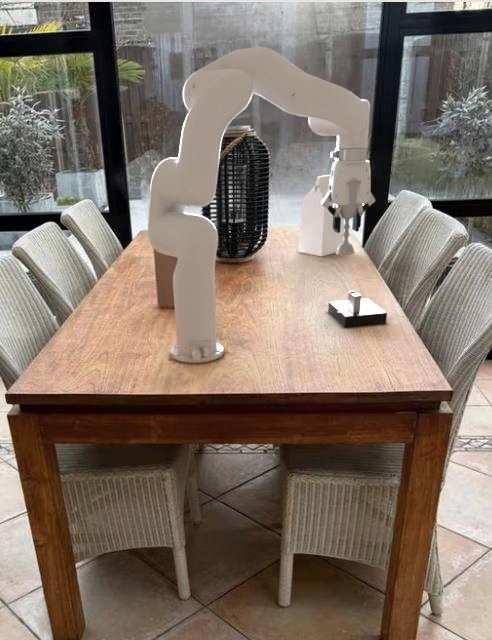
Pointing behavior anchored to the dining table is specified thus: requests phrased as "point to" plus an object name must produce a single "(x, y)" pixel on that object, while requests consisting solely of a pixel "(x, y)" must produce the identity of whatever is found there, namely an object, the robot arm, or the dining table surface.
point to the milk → (318, 222)
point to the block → (164, 279)
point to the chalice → (348, 213)
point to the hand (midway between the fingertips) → (346, 230)
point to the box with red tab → (354, 301)
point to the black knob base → (357, 314)
